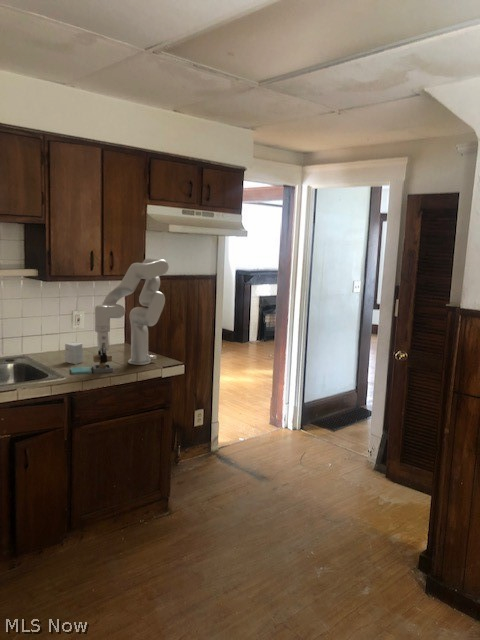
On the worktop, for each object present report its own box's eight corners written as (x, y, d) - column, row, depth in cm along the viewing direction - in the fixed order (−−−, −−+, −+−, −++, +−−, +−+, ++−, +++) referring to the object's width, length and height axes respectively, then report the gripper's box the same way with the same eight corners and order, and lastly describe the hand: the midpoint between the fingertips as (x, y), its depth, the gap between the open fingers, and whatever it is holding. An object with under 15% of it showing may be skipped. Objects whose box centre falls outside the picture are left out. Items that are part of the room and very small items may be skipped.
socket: (110, 367, 288) (110, 363, 288) (113, 371, 279) (113, 368, 279) (91, 368, 285) (91, 364, 284) (93, 373, 275) (93, 369, 275)
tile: (89, 368, 284) (89, 366, 284) (91, 373, 275) (91, 371, 275) (70, 369, 281) (70, 367, 280) (71, 374, 271) (71, 372, 271)
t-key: (110, 368, 286) (110, 354, 285) (111, 370, 281) (111, 356, 280) (93, 369, 283) (93, 354, 281) (94, 371, 278) (94, 356, 277)
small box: (83, 362, 296) (82, 344, 295) (75, 364, 292) (75, 345, 290) (72, 360, 300) (72, 342, 299) (65, 362, 296) (64, 343, 294)
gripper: (112, 331, 272) (112, 363, 274) (107, 325, 288) (107, 356, 290) (97, 331, 269) (97, 364, 272) (93, 325, 285) (93, 357, 288)
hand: (102, 360), depth 281 cm, fingers open, 9 cm apart
